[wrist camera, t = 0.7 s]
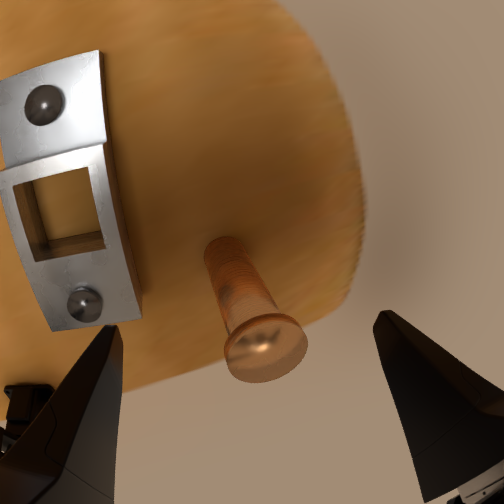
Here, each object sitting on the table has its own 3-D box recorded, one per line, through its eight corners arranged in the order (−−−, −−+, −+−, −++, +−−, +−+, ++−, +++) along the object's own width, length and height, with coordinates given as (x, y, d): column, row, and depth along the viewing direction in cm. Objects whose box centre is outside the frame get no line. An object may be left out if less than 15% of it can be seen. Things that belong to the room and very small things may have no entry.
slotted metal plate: (142, 293, 23) (142, 324, 20) (60, 306, 21) (50, 337, 18) (102, 53, 14) (90, 44, 11) (4, 83, 13) (-22, 83, 10)
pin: (252, 273, 25) (304, 371, 16) (200, 283, 24) (231, 390, 15) (249, 226, 23) (311, 315, 14) (193, 234, 22) (223, 335, 13)
